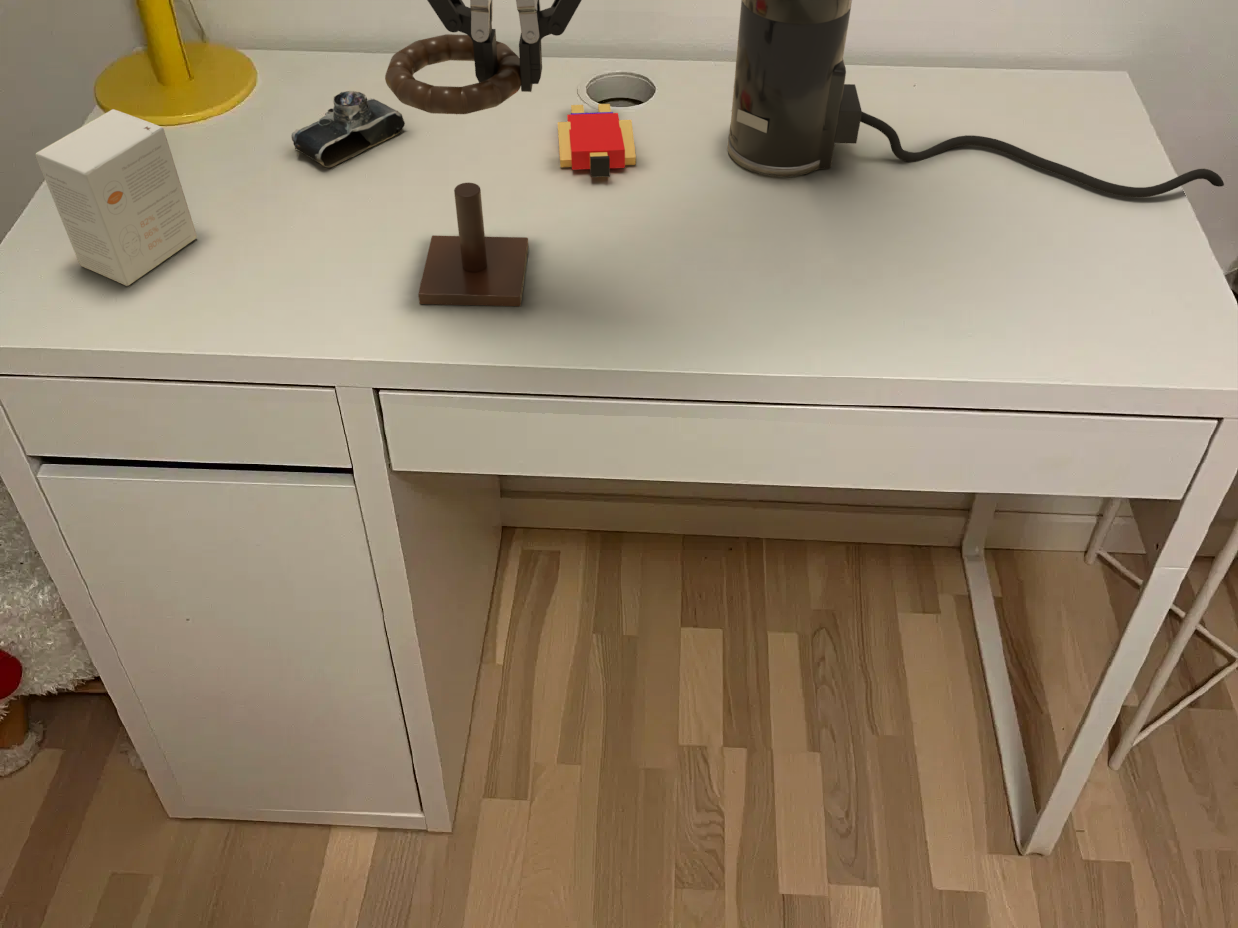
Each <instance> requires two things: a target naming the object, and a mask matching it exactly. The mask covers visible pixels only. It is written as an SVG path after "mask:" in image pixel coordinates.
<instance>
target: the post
mask: <svg viewBox="0 0 1238 928" xmlns="http://www.w3.org/2000/svg"><path fill="white" fill-rule="evenodd" d="M453 191H454V193H453V194H454V201H455V202H454V203H455V211H456V221H457V230H458V235H433V234H432V235H431V237H430V238H431V239H430V242H429V247H428V251H427V255H426V259H425V264H424V267H423V272H422V277H421V281H420V284H419V290H418V294H417V295H418V296H417V297H418V302H419V305H449V306H453V305H454V306H490V307H491V306H492V307H493V306H494V307H496V306H498V307H521V306H522V299H523V292H524V285H525V278H526V269H527V261H528V255H529V237H524V236H522V237H521V236H486V235H485V224H484V223H485V222H484V213H483V212H484V211H483V201H482V189H481V187H480V185H479V184H477V183H475V182H462V183H459V184H457V185H456V186H455V187H454V190H453Z"/></svg>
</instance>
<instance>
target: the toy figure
mask: <svg viewBox="0 0 1238 928" xmlns="http://www.w3.org/2000/svg"><path fill="white" fill-rule="evenodd" d="M570 108H571V109H570V114H567V115H566V118H567V121H557V136H558V137H557V138H558V149H559V150H558V152H559V164H560V165H559V167H560V168H571V170H572V171H574V170H575V171H577V170H589V172H590V173H589V175H590V178H605V177H608V178H609V177H610V176H611V171H610V170H611V169H624V168H626V166H636V161H637V155H636V147H635V138H634V130H633V121H632V119H620V116H619V112H613V111H612V107H611V104H610V103H598V104H597V111H596V112H585V108H584V104H570Z"/></svg>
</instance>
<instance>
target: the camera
mask: <svg viewBox="0 0 1238 928" xmlns="http://www.w3.org/2000/svg"><path fill="white" fill-rule="evenodd" d="M332 102H333V108H329V109H327V111H325V113H324V115H323V116H322V117H320V118H319V119H318V120H317V121H314V122H313V123H311V124H309V125H307V126H304V127H302V128H300V129H299V128H297V129H295V130H294V131H293V132H292V133H291V136H290V137H291V141H292V142H293V146H294V149H295V150H296V151H299V152H300V153H302V154H303V155H305V156H307V157H309V158H310V159H311V160H313V161H315V162H317V163H319V164H320V165H321V166H323V167H324V168H334V167H336V166H338V165H339V164H341V163H343V162H345V161H347V160H349V159H351V158H353V157H356V156H358V155H360V154H361V153H363V152H365V151H366V150H368V149H370V148H372V147H375V146H377V145H379V144H381V143H384V142H385V141H387V140H389V139H391V138H393V137H395V136H397V135H398V134H400V133H402V131H403V129H404V127H405V125H406V122H405V119H404V117H403V114H402V113H401V112H400V111H399V110H396V109H394V108H393V107H391V106H388V105H387V104H385V103H383V102H381V101H379V100H378V99H375V98H373V97H368V98H367V95H366V94H365V93H363V92H361V91H357V90H347V91H341V92H339V93H337V94H336V95H334V96H333V100H332Z"/></svg>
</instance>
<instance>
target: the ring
mask: <svg viewBox="0 0 1238 928" xmlns="http://www.w3.org/2000/svg"><path fill="white" fill-rule="evenodd" d="M496 45H497V61H498V72H497V74H495V75H494V76H492V77H491V78H489V79H488V80H486V81H484V82H475V83H472V84H468V85H464V86H447V85H446V86H444V85H433V84H430V83H427V82H423V81H421V80H417V79H416V78H415V77H414V74H417V72H419V71H420V70H422V69H423V68H425V67H427V66H431V65H435V64H439V63H440V64H441V63H445V62H448V61H449V62H450V61H453V62H454V61H457V62H459V61H461V62H464V61H465V62H474V49H473V41H472V39H471V38H470V37H469V36H468V35H467V34H454V33H453V34H451V33H449V34H447V33H446V34H441V35H437V36H433V37H432V36H431V37H427V38H423V39H419V40H415V41H413V42H412V43H410V44H408V45H407V46H405V47H403V48H402V49H400V50H399V51H397V52H395V53H394V54H393V55H392V56H391V58H390V61H389V64H388V66H387V69H386V72H385V76H384V80H385V84H386V86H387V87H388V88H389V90H390V91H391V92H392V93H393V95H394V96H395V97H396V98H397V100H398V101H399V102H400V103H401V104H404V106H405V105H406V106H409V107H412V108H415V109H416V110H417V109H418V110H420V111H423V112H426V113H429V114H435V115H436V114H437V115H438V114H439V115H441V114H442V115H468V114H471V113H477V112H480V111H484V110H489V109H493V108H496V107H498V106H500V105H501V104H502V103H504V102H505V101H507V100H508V99H509V98H511V97H513V96H514V95H515V94H517V93H518V92H519V91H520V90H521V76H520V57H519V55H517V53H515V52H514V50H513V49H511V48H510V46H508V44H506V43H504V42H501V41H498V40H496Z"/></svg>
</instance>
